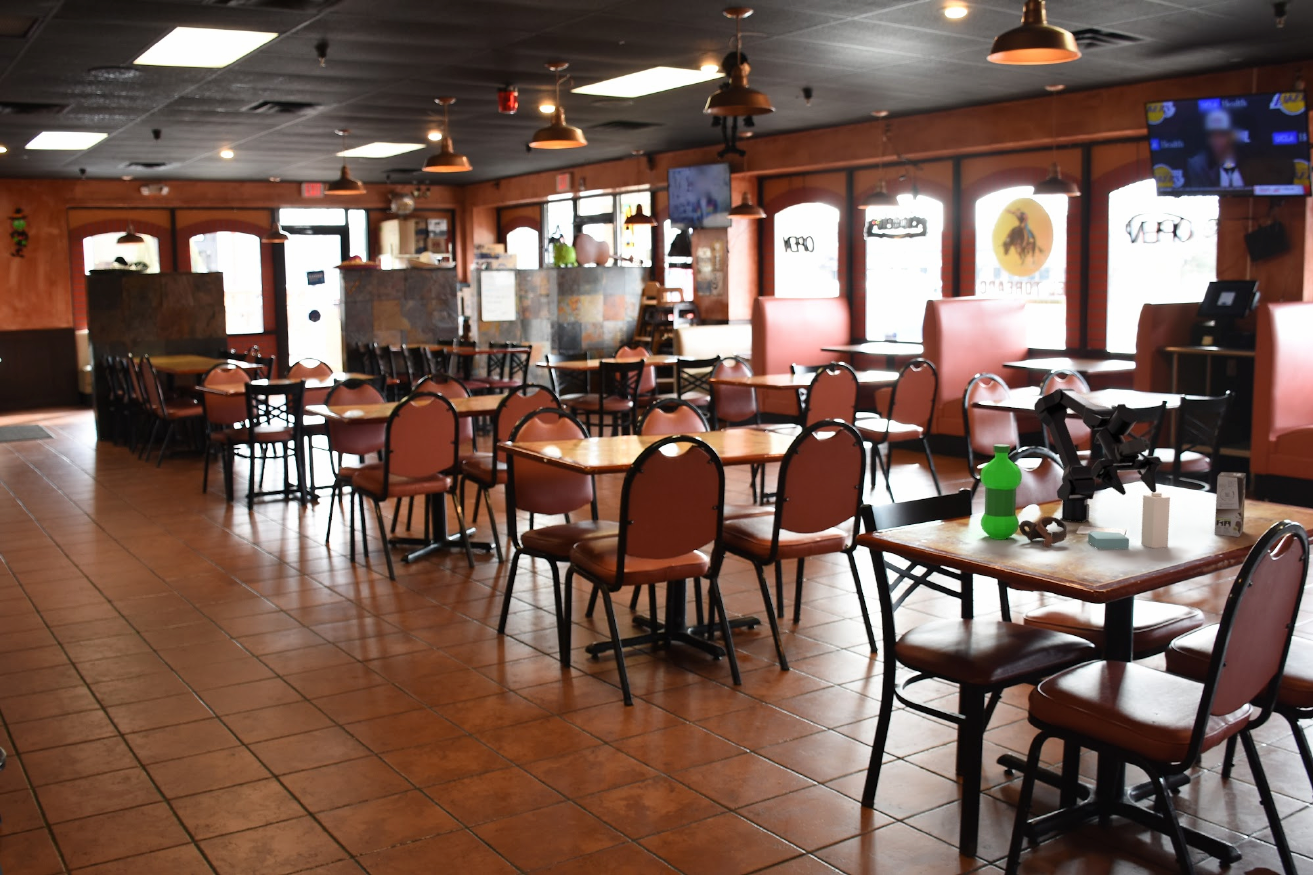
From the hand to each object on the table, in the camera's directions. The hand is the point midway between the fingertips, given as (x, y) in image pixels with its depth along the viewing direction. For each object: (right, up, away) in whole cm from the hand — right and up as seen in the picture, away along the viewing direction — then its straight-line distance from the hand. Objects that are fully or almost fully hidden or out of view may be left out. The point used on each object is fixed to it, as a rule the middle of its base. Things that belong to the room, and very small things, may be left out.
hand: (1139, 493), depth 312 cm
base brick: (-10, -14, -4) cm, 17 cm away
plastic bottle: (-35, -12, +8) cm, 38 cm away
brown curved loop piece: (-26, -14, 0) cm, 29 cm away
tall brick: (+2, -13, -5) cm, 14 cm away
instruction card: (-5, -11, +13) cm, 18 cm away
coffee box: (+28, -11, +10) cm, 32 cm away
